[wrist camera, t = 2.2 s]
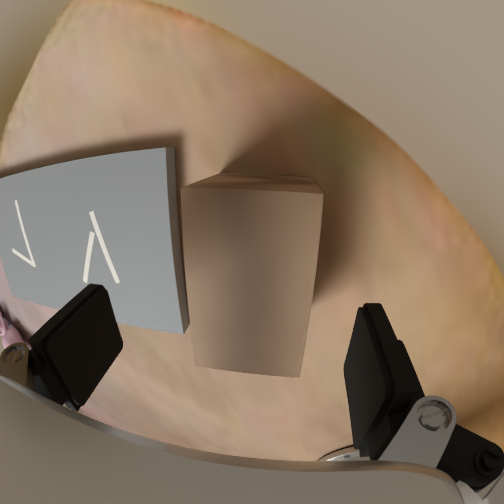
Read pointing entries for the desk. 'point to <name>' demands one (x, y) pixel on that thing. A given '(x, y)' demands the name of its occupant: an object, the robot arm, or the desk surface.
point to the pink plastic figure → (9, 333)
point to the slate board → (98, 235)
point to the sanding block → (251, 269)
